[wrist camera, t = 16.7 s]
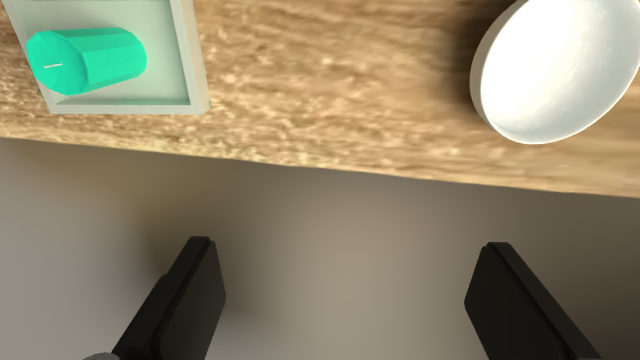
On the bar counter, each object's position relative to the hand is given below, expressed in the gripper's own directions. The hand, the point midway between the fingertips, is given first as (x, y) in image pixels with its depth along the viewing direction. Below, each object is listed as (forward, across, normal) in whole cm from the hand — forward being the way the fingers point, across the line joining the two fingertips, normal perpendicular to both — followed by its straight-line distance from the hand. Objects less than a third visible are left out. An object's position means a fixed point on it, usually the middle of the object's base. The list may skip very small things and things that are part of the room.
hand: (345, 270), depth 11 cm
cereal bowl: (+34, -24, -3) cm, 41 cm away
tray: (+33, +27, -4) cm, 43 cm away
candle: (+33, +27, -4) cm, 42 cm away
